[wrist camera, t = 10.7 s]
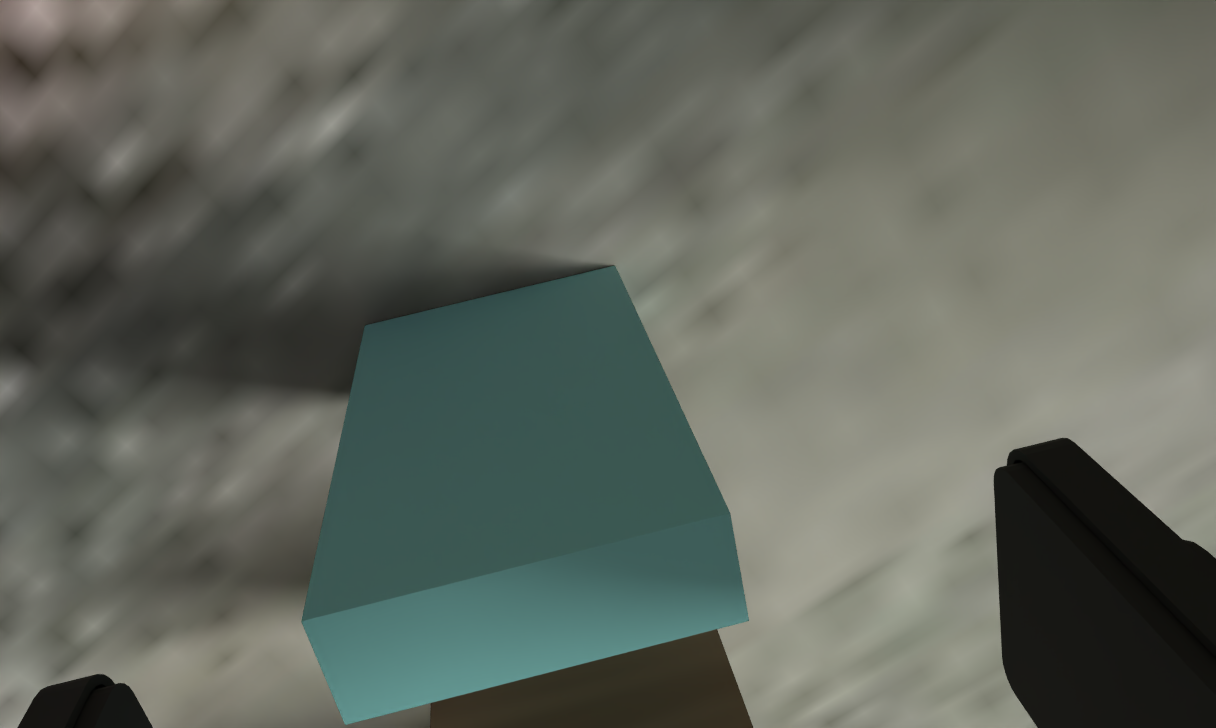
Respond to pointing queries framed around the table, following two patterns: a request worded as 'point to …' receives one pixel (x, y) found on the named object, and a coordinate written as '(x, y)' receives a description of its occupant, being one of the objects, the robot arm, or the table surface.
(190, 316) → the table surface
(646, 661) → the walnut domino
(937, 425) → the table surface
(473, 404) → the domino teal end
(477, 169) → the table surface
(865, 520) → the table surface
